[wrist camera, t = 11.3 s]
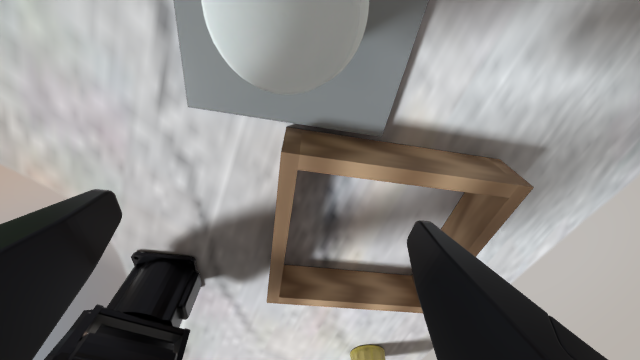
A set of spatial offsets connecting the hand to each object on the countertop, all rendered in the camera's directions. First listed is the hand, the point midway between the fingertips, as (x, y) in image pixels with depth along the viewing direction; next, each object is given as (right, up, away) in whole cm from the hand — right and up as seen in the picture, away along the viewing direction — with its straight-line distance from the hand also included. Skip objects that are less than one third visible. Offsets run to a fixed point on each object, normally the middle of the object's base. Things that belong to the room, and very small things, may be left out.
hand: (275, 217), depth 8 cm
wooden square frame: (+6, -3, +18) cm, 19 cm away
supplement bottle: (0, +11, +7) cm, 13 cm away
